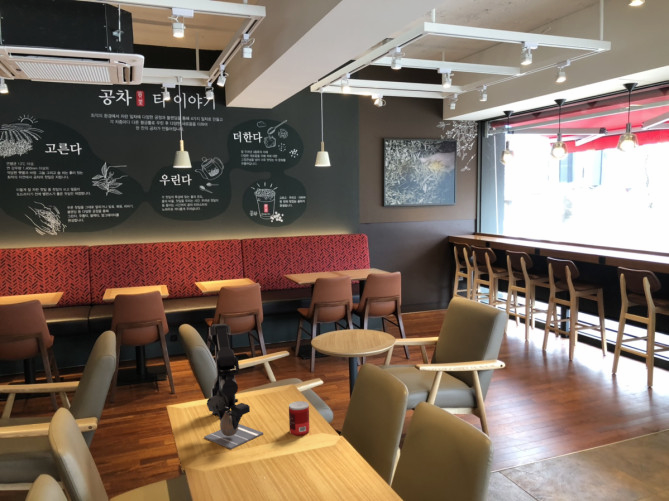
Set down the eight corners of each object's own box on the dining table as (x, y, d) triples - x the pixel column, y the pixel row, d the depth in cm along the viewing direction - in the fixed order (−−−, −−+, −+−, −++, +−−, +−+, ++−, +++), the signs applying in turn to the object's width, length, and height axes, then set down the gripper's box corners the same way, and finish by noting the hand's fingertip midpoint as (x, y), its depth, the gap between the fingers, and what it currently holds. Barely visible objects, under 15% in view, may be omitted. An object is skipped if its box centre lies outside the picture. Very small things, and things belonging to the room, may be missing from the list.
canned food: (312, 429, 208) (312, 402, 207) (303, 437, 201) (302, 409, 200) (296, 426, 211) (295, 399, 211) (286, 434, 204) (285, 406, 203)
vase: (241, 430, 204) (239, 408, 203) (236, 437, 197) (234, 414, 196) (224, 430, 204) (222, 408, 204) (218, 437, 198) (216, 415, 197)
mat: (204, 438, 203) (204, 436, 203) (236, 424, 215) (236, 422, 215) (231, 449, 193) (231, 447, 192) (263, 434, 205) (263, 432, 205)
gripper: (194, 388, 199) (196, 428, 200) (226, 398, 187) (228, 441, 188) (218, 380, 207) (219, 418, 209) (250, 389, 196) (251, 430, 197)
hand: (229, 427), depth 201 cm, fingers closed on vase, 7 cm apart
